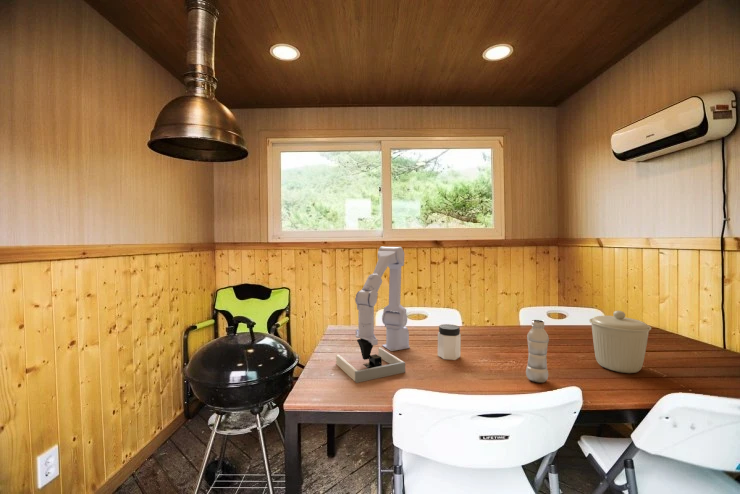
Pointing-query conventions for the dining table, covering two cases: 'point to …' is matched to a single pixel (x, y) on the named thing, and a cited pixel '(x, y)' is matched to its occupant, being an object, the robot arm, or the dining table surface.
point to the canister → (619, 342)
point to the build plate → (374, 361)
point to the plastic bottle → (537, 352)
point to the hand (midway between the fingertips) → (365, 358)
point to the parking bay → (376, 372)
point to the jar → (449, 342)
